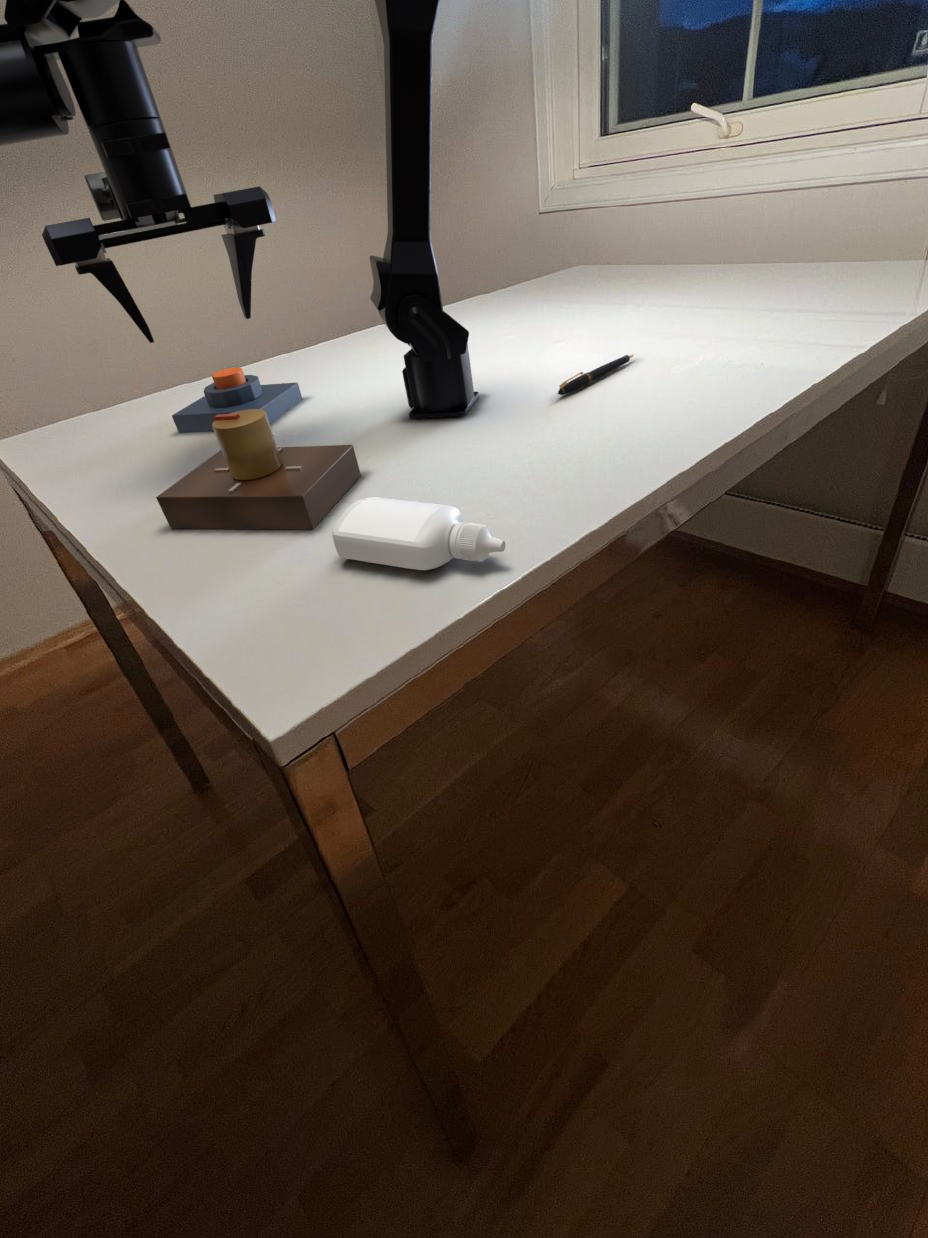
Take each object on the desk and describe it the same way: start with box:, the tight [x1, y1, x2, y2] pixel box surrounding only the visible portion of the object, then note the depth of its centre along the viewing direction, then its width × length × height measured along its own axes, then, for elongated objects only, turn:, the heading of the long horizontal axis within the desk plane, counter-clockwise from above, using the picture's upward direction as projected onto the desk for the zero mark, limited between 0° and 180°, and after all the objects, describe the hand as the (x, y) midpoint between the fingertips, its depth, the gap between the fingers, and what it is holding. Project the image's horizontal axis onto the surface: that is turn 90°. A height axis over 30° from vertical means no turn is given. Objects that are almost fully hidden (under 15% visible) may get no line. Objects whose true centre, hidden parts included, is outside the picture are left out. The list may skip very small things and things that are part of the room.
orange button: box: [211, 367, 246, 390], centre depth 76 cm, size 4×4×2 cm
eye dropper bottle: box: [331, 496, 506, 571], centre depth 43 cm, size 4×6×12 cm
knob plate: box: [155, 444, 362, 530], centre depth 55 cm, size 14×10×3 cm
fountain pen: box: [557, 353, 635, 396], centre depth 70 cm, size 14×1×2 cm, turn 135°
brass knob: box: [212, 409, 282, 480], centre depth 53 cm, size 4×4×5 cm
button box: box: [171, 374, 303, 434], centre depth 77 cm, size 12×10×4 cm
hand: (201, 329), depth 60 cm, fingers open, 9 cm apart
